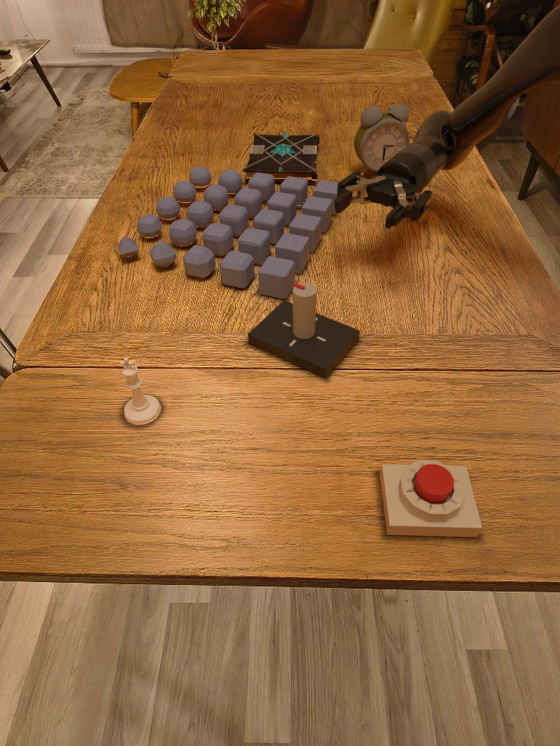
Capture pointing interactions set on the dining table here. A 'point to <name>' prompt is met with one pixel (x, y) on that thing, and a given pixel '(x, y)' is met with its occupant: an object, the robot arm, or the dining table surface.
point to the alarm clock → (381, 136)
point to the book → (283, 156)
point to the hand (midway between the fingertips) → (362, 214)
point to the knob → (304, 310)
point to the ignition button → (433, 483)
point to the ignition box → (428, 504)
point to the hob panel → (304, 340)
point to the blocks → (242, 228)
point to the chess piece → (138, 398)
